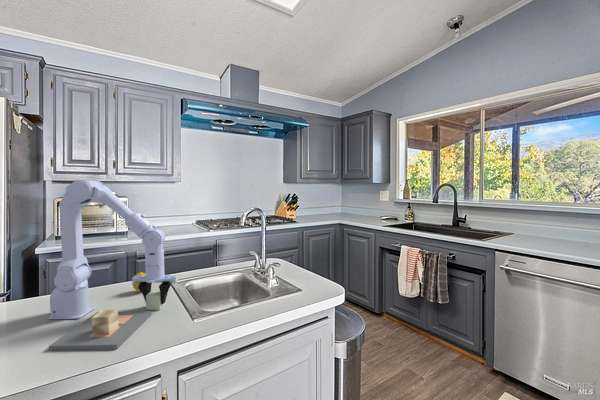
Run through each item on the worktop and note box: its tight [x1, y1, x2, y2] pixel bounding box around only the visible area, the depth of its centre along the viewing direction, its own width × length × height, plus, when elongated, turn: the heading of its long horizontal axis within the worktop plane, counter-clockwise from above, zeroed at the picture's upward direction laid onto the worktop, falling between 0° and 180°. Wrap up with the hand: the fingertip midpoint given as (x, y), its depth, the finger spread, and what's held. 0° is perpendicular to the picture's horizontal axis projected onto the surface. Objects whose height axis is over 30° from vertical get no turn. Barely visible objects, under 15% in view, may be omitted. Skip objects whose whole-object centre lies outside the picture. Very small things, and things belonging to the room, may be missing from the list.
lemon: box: [132, 271, 146, 293], centre depth 112 cm, size 6×6×8 cm
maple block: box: [92, 309, 119, 335], centre depth 81 cm, size 4×4×5 cm
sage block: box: [145, 290, 166, 311], centre depth 99 cm, size 4×4×5 cm
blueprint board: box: [48, 310, 152, 351], centre depth 83 cm, size 17×19×1 cm
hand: (155, 303), depth 99 cm, fingers closed on sage block, 4 cm apart
